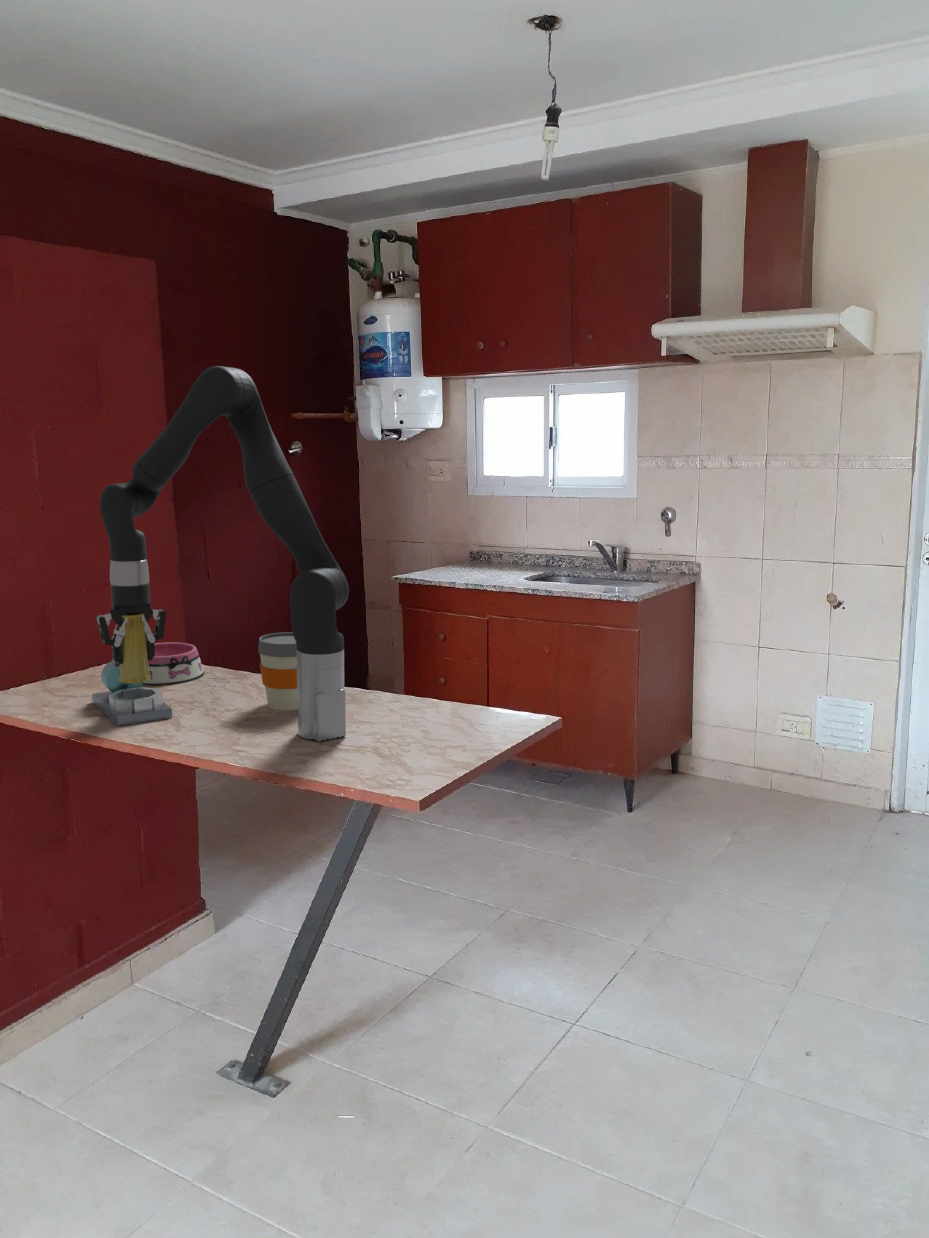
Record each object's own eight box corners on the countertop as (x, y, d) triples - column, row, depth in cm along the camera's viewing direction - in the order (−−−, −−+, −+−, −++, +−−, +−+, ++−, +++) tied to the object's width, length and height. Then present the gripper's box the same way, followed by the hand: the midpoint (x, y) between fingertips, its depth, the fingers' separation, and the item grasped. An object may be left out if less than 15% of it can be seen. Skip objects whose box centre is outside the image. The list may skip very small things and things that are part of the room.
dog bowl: (145, 690, 221) (144, 661, 220) (111, 674, 234) (110, 647, 233) (218, 677, 233) (217, 650, 232) (181, 663, 247) (180, 637, 245)
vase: (156, 678, 202) (153, 612, 199) (135, 685, 196) (131, 617, 194) (134, 675, 204) (130, 609, 202) (113, 681, 199) (109, 614, 196)
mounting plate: (172, 717, 200) (169, 670, 198) (118, 726, 194) (115, 677, 192) (143, 695, 216) (140, 651, 214) (92, 702, 210) (89, 657, 208)
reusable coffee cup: (323, 698, 216) (322, 632, 213) (309, 714, 204) (308, 645, 201) (269, 695, 217) (267, 631, 214) (251, 711, 205) (249, 643, 202)
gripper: (98, 586, 189) (103, 670, 193) (170, 581, 197) (174, 661, 201) (88, 581, 195) (93, 662, 199) (159, 576, 203) (163, 653, 207)
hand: (134, 661), depth 200 cm, fingers closed on vase, 5 cm apart
